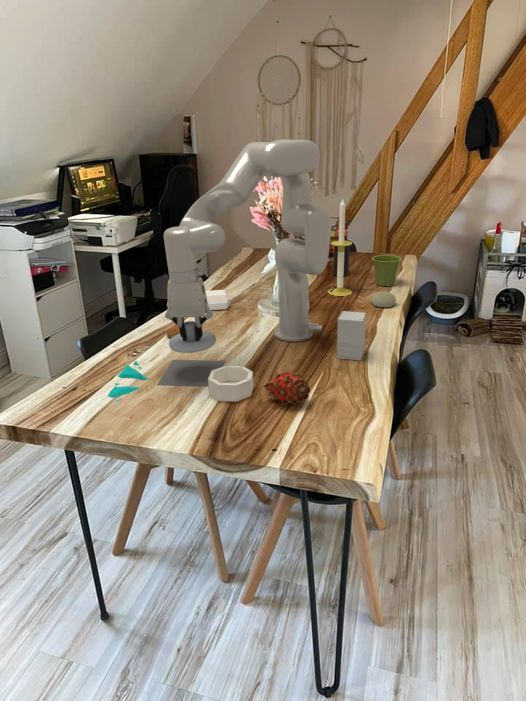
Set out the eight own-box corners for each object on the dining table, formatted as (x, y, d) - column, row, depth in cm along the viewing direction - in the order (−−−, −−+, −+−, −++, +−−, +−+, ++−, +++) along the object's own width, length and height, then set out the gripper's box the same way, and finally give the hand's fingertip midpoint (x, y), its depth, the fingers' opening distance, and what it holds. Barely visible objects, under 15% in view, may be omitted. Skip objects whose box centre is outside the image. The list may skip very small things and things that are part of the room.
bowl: (255, 382, 141) (254, 366, 139) (249, 403, 131) (248, 385, 129) (215, 381, 142) (214, 365, 140) (206, 401, 132) (205, 384, 130)
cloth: (132, 410, 131) (131, 402, 130) (83, 405, 134) (81, 398, 133) (170, 365, 154) (169, 359, 153) (127, 362, 157) (126, 356, 156)
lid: (219, 332, 149) (217, 314, 147) (211, 352, 138) (208, 332, 135) (175, 333, 151) (173, 314, 148) (163, 353, 139) (160, 333, 137)
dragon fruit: (312, 412, 129) (268, 410, 134) (317, 382, 133) (274, 381, 138) (302, 397, 122) (256, 396, 127) (308, 366, 126) (263, 366, 131)
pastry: (174, 341, 170) (173, 330, 168) (162, 336, 174) (161, 325, 173) (197, 333, 175) (196, 323, 174) (185, 328, 180) (184, 318, 178)
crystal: (165, 306, 190) (231, 302, 192) (165, 292, 194) (229, 287, 196) (168, 319, 196) (231, 314, 198) (167, 305, 200) (229, 300, 202)
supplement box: (364, 351, 158) (367, 312, 153) (360, 361, 151) (363, 321, 146) (340, 348, 160) (342, 310, 155) (335, 358, 154) (337, 318, 148)
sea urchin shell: (368, 303, 192) (372, 284, 194) (370, 312, 199) (374, 294, 201) (393, 305, 189) (397, 286, 191) (394, 315, 196) (398, 296, 198)
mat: (225, 362, 154) (225, 360, 153) (214, 387, 139) (214, 386, 139) (172, 360, 155) (172, 359, 155) (156, 386, 141) (156, 384, 141)
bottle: (333, 272, 237) (334, 228, 229) (348, 272, 236) (350, 228, 228) (333, 277, 231) (334, 231, 223) (348, 277, 230) (350, 231, 222)
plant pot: (402, 282, 220) (405, 256, 216) (393, 290, 211) (395, 263, 207) (376, 278, 226) (378, 253, 222) (366, 286, 217) (367, 259, 213)
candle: (357, 293, 209) (361, 197, 194) (338, 298, 204) (341, 200, 188) (340, 287, 217) (343, 194, 201) (322, 292, 211) (323, 197, 196)
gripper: (217, 270, 138) (223, 333, 146) (157, 271, 140) (167, 333, 148) (211, 279, 131) (218, 344, 139) (149, 280, 133) (159, 345, 141)
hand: (192, 338), depth 144 cm, fingers closed on lid, 3 cm apart
